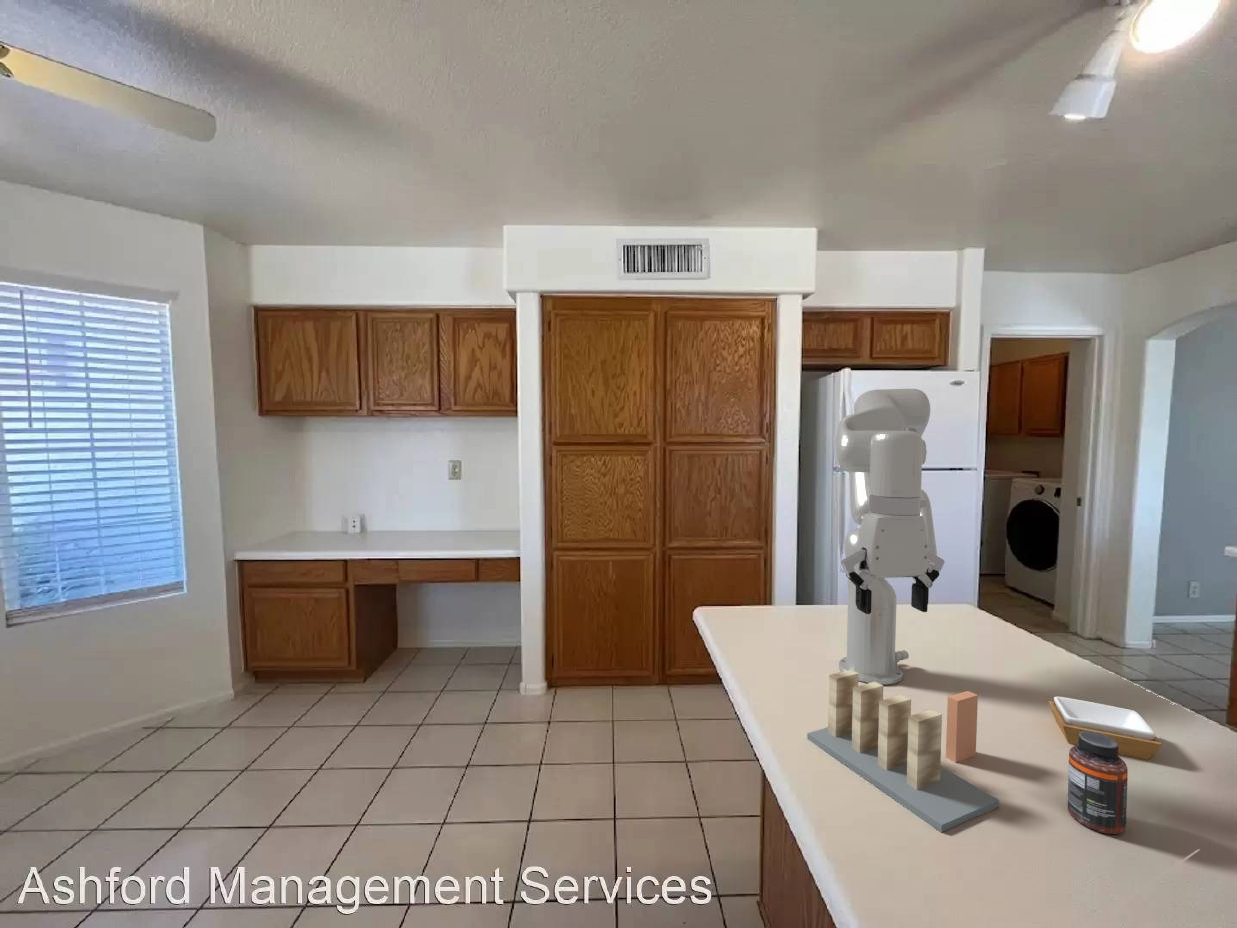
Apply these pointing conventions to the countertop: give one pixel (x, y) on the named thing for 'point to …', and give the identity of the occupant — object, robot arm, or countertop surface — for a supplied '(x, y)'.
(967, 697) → the domino
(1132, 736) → the soap dish
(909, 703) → the domino
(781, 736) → the countertop surface
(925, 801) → the runway mat
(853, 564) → the robot arm
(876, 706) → the domino
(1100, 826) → the supplement bottle
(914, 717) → the domino
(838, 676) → the domino
